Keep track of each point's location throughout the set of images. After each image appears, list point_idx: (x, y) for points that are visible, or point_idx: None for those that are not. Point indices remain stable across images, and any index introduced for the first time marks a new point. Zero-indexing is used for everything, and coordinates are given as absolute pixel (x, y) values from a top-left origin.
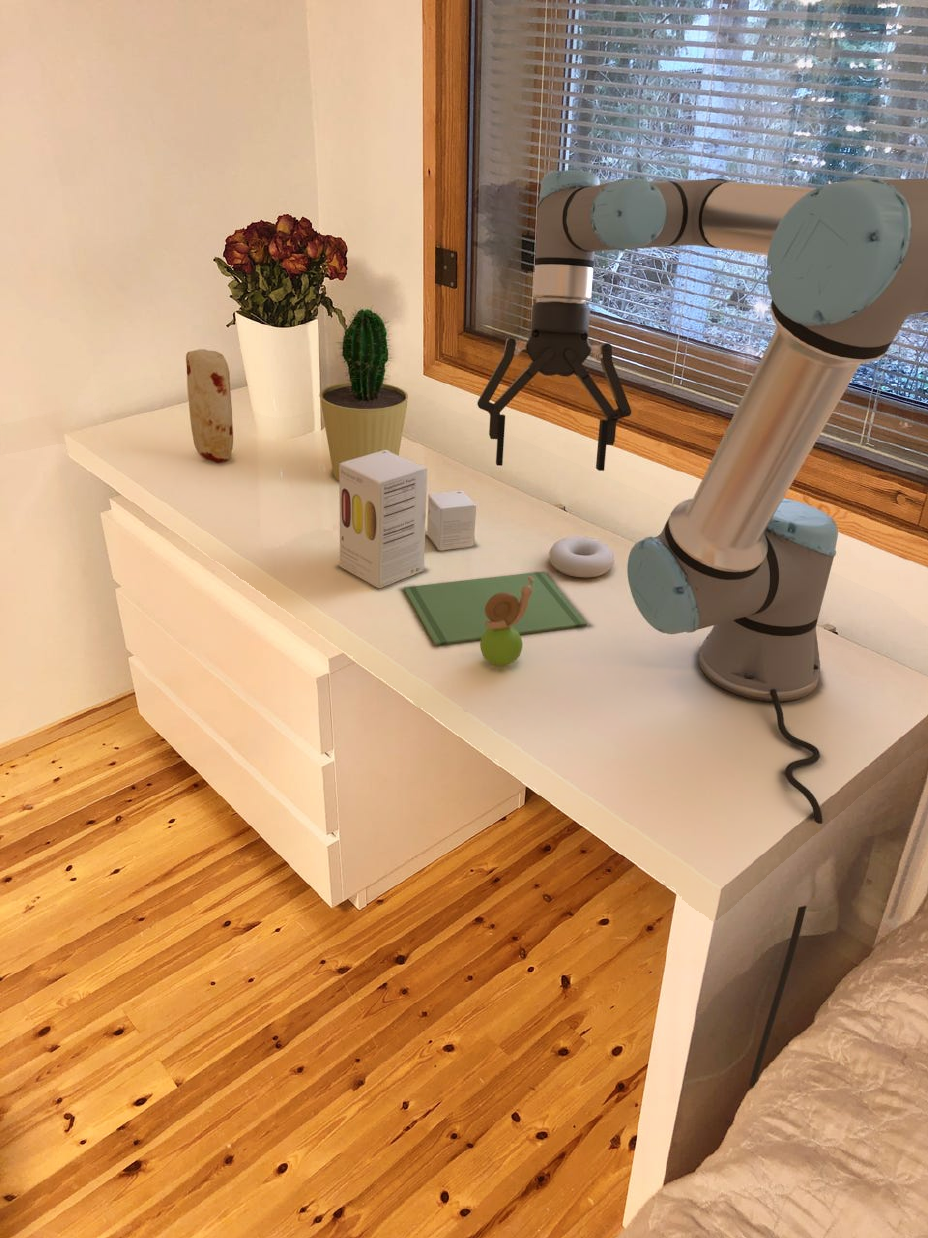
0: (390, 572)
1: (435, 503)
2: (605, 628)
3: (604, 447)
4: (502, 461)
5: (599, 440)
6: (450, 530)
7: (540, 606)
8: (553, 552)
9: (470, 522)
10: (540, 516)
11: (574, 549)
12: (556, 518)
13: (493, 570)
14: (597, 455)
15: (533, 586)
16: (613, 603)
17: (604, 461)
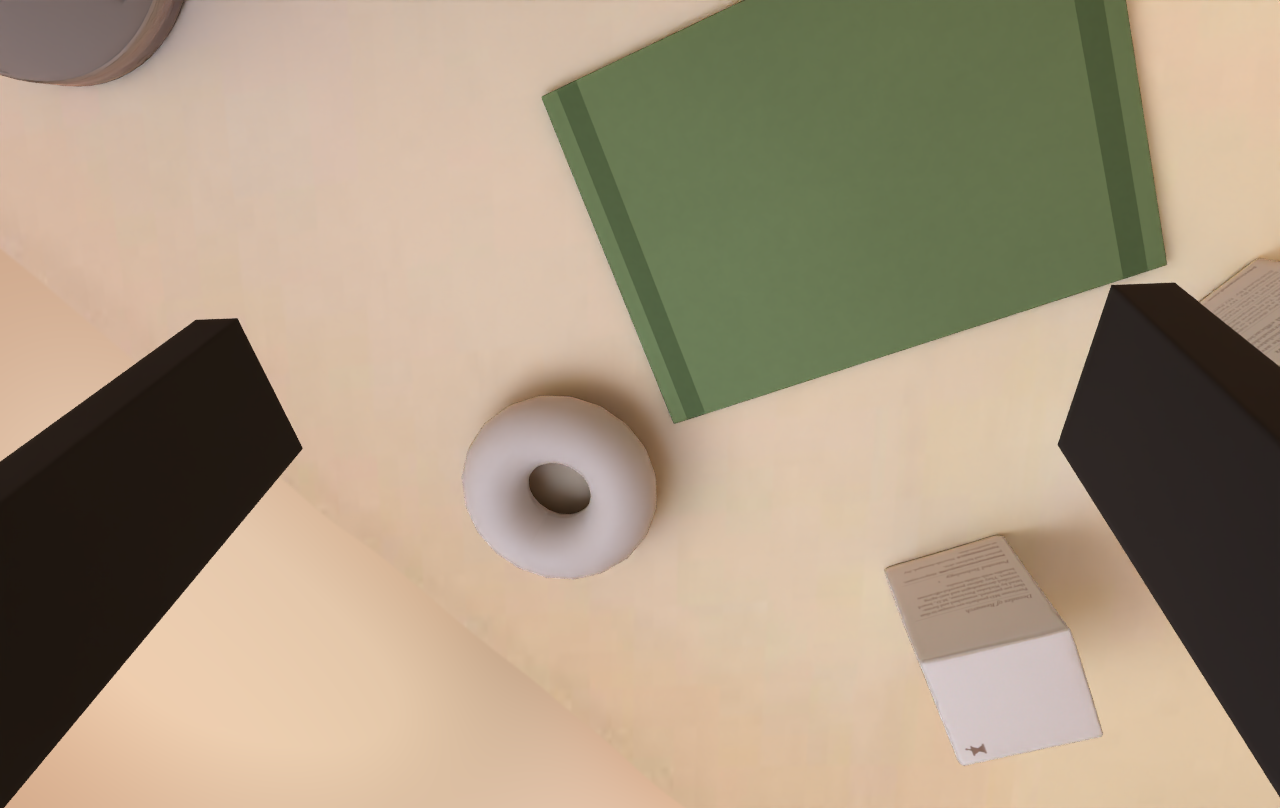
0: (1244, 301)
1: (1083, 670)
2: (484, 92)
3: (50, 436)
4: (1132, 303)
5: (106, 563)
6: (989, 581)
7: (689, 192)
8: (643, 481)
9: (922, 614)
10: (677, 740)
11: (579, 519)
12: (634, 731)
13: (830, 428)
14: (230, 492)
15: (708, 326)
16: (466, 262)
17: (145, 360)
